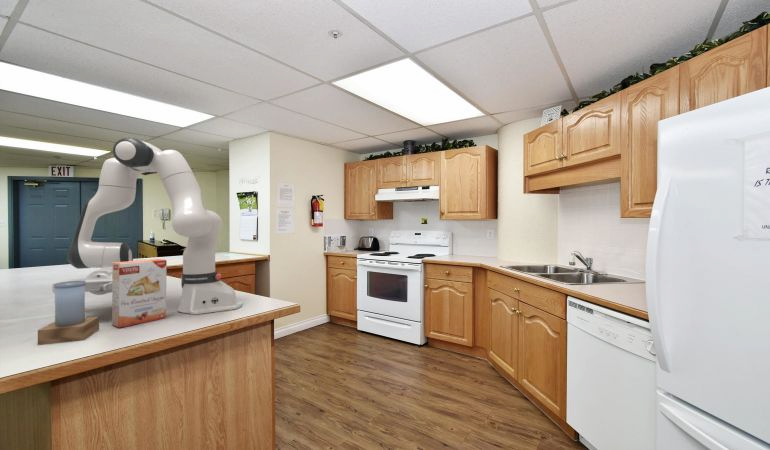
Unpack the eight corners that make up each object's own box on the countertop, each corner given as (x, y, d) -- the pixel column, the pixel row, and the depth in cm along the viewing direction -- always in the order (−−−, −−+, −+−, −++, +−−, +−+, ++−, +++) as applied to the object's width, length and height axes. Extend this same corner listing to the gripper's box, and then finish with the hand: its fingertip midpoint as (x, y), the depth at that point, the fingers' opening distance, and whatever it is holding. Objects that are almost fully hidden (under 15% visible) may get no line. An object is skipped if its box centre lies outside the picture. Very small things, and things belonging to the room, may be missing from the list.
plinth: (99, 329, 103) (99, 316, 103) (83, 340, 94) (83, 326, 94) (58, 333, 100) (57, 320, 100) (37, 344, 90) (37, 330, 90)
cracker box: (119, 328, 104) (118, 263, 104) (111, 325, 107) (111, 262, 107) (167, 318, 116) (167, 259, 116) (159, 315, 119) (158, 258, 119)
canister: (90, 318, 101) (89, 280, 101) (79, 325, 95) (78, 284, 95) (61, 321, 99) (61, 281, 98) (48, 328, 92) (48, 285, 92)
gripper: (64, 274, 113) (40, 281, 100) (136, 271, 121) (122, 277, 108) (64, 292, 113) (40, 301, 100) (136, 288, 121) (122, 296, 108)
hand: (83, 289), depth 104 cm, fingers open, 8 cm apart
